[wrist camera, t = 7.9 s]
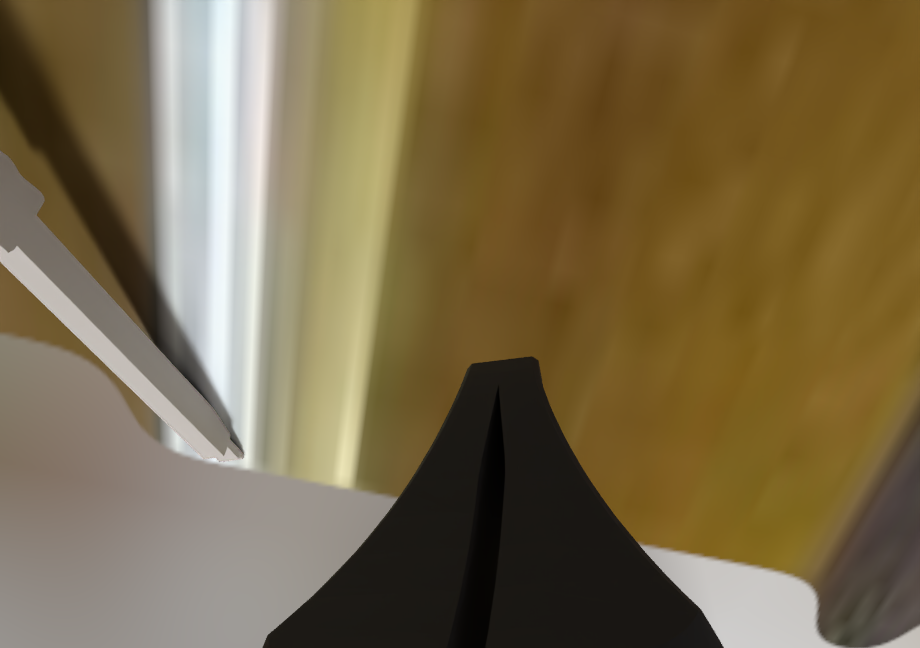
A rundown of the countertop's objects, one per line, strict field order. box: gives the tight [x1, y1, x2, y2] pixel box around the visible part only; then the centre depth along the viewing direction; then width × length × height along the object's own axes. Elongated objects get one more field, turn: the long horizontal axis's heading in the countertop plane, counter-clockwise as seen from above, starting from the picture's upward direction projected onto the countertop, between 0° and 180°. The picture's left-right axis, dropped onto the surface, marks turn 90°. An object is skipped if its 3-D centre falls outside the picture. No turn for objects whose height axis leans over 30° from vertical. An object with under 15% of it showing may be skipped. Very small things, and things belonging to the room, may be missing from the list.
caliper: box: [0, 151, 244, 462], centre depth 22 cm, size 20×1×6 cm, turn 15°
